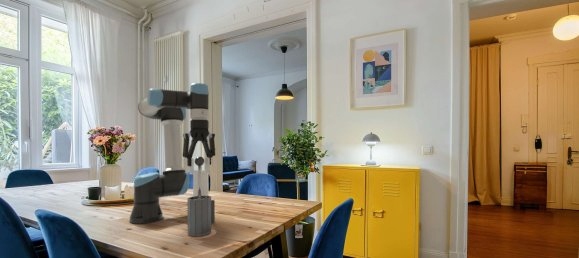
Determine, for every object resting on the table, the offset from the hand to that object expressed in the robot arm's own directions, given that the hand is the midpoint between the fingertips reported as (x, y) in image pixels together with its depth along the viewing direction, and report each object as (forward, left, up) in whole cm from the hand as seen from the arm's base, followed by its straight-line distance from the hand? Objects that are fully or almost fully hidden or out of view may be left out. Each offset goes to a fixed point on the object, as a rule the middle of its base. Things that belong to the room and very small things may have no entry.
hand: (199, 173), depth 121 cm
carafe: (0, 0, -25) cm, 25 cm away
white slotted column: (-17, +9, -26) cm, 32 cm away
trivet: (0, 0, -26) cm, 26 cm away
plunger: (0, 0, -12) cm, 12 cm away
